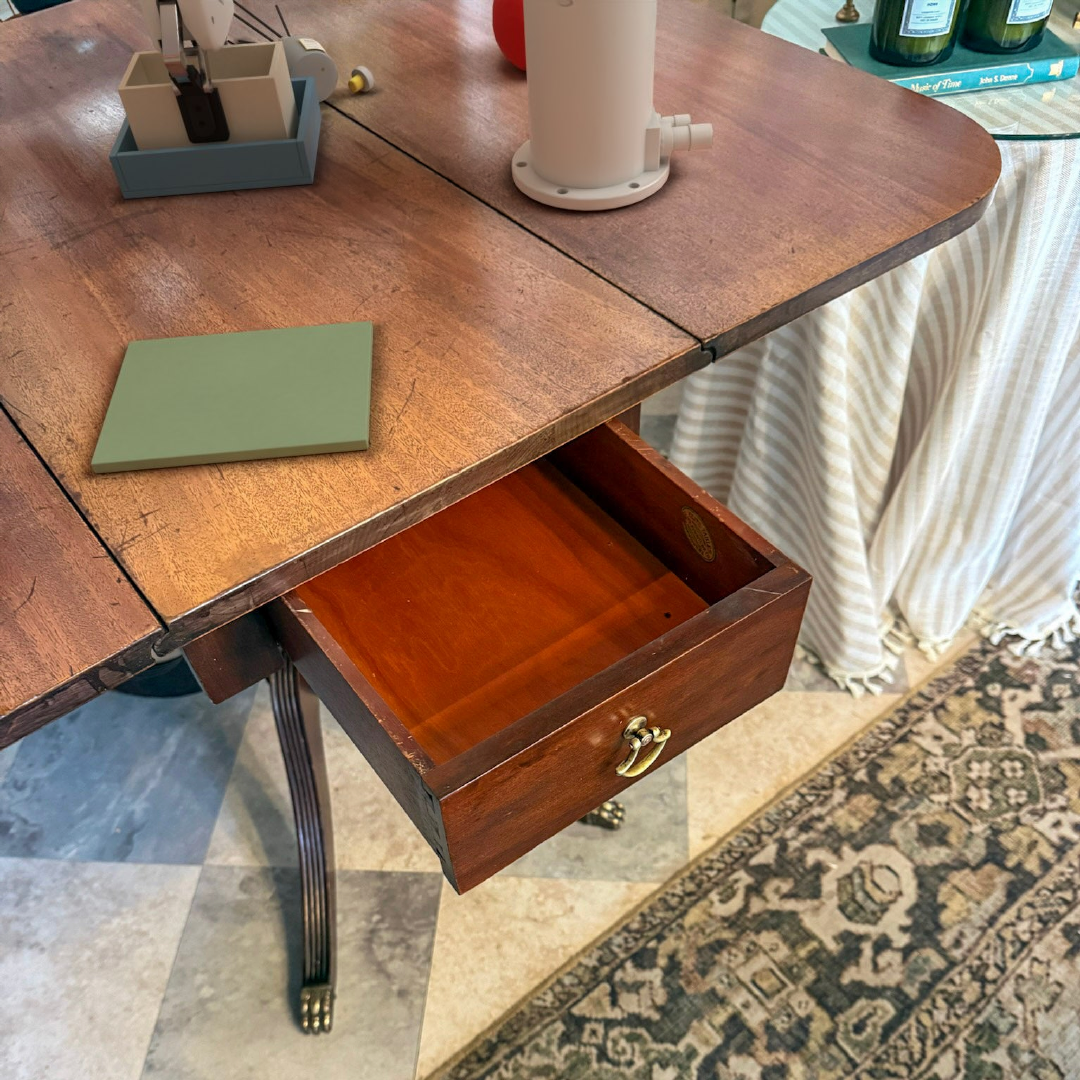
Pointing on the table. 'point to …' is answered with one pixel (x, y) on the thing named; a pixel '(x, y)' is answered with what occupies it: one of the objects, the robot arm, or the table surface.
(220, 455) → the mat
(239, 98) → the cream bin
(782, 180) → the table surface
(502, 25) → the fruit
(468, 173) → the table surface
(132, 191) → the blue tote
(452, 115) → the table surface
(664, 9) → the table surface
